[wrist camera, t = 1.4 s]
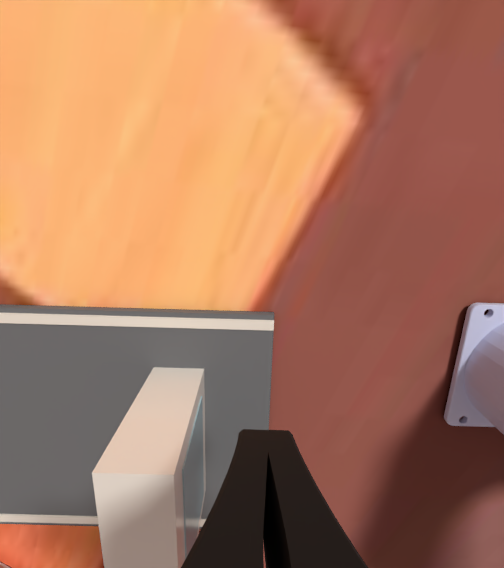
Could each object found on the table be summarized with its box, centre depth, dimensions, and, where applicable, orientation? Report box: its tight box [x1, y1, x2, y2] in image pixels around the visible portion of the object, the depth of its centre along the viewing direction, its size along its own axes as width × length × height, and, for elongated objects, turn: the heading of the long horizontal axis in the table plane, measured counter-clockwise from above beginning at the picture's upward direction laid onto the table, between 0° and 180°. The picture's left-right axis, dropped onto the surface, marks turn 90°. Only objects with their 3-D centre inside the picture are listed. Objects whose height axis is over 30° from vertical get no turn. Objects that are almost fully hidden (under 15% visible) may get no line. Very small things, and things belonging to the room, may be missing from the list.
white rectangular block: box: [92, 367, 206, 568], centre depth 16 cm, size 3×9×8 cm, turn 178°
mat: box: [0, 305, 274, 529], centre depth 20 cm, size 20×16×1 cm
